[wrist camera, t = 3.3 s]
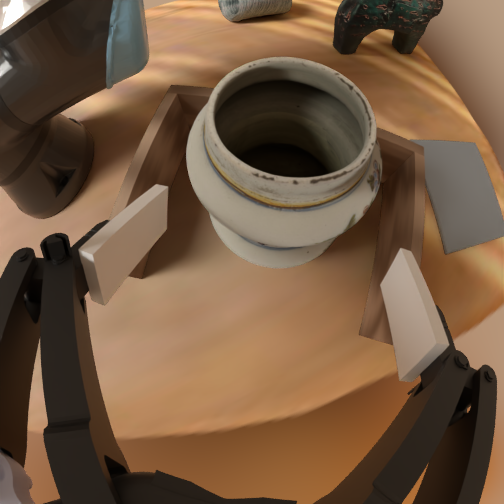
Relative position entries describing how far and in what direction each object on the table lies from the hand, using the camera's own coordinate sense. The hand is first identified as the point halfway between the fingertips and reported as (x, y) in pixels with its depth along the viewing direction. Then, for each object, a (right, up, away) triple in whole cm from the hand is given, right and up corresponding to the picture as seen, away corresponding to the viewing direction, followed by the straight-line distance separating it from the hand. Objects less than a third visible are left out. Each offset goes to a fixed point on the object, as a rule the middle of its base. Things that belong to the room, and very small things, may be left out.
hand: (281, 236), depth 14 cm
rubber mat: (+29, +8, +15) cm, 34 cm away
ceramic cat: (+21, +36, +21) cm, 46 cm away
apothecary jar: (+1, +3, +15) cm, 15 cm away
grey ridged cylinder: (-1, +44, +22) cm, 49 cm away
